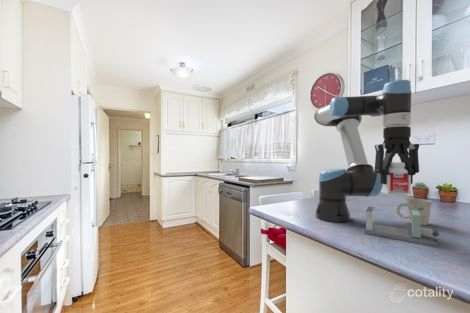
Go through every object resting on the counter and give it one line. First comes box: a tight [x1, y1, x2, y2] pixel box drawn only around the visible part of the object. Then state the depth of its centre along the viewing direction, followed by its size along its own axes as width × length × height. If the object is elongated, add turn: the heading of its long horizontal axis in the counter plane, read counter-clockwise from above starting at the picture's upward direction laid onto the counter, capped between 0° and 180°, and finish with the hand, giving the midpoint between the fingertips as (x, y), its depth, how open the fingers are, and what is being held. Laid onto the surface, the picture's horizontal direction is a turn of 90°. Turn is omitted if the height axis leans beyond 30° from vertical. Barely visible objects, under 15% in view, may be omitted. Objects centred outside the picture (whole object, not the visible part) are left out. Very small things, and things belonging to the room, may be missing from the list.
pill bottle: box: [387, 161, 408, 197], centre depth 73 cm, size 6×6×11 cm
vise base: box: [364, 206, 438, 248], centre depth 78 cm, size 20×10×8 cm, turn 52°
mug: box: [396, 197, 432, 226], centre depth 92 cm, size 8×13×10 cm, turn 78°
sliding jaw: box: [411, 210, 440, 238], centre depth 73 cm, size 7×9×8 cm
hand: (396, 193), depth 73 cm, fingers closed on pill bottle, 6 cm apart
